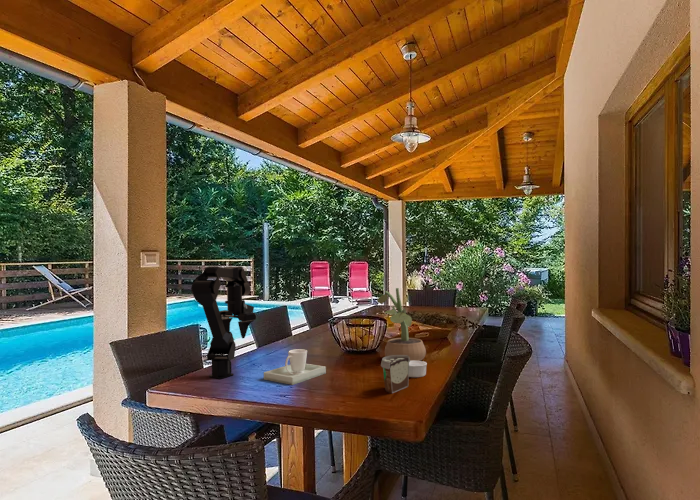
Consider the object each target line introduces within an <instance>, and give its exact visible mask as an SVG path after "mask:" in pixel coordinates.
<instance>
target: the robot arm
mask: <svg viewBox="0 0 700 500" xmlns="http://www.w3.org/2000/svg"><path fill="white" fill-rule="evenodd" d="M211 278H213V279H214V278H215V280H212V279H211ZM221 278H222V279H223V280H224V281H226V282H227V283H226V284H225V288H226V294H227V295H226V297H227V298H226V300H225V301H224V303H225V304H227V310H225V309H224V310H223V309H222V310H220V308H219V306H218V302H217V298H218V295H219V290H220V287H221V285H222V283H221V281H220V279H221ZM209 279H211V280H209ZM248 282H249V280H248V277H247V275H246V272H245V269H244V268H243V266H225V267H220V266H207V267H205V268H204V270H203V272H201V273H200V274H199V275H197V276H196V277H195V278H194V280H193V282H192V284H191V288H190V290H191V294H192V296H193V298H194V299H195V302H197V303H199V305H201V307H202V308H203V312H204V314H205V318H206V321H207V324H208V327H209V330H210V332H211V336H212V338H211V341H210V346H209V349H208V351H207V354H206V358H207V361H211V374H209V375H208V377H210V378H214V379H219V380H221V379H224V378H228V377H232V376H234V373H232V372H233V371H232V362H231V361H232V360H233V359H235V357H236V356H235V354H236V342H235V338H234V335H233V333H232V331H231V322H232V320H233V318H234V319H238V321H237V325H238V328H239V332H240V336H241V339H245V337H246V334H247V333H248V329H249V326H250V325H251V324H252V323H253V322H254V321H255V320H257V314H256V312H254V308H255V306H253V305H250V304H247V303H246V302H245V299H243V297H245V296H248V295H249V294H250V293H251V292H252V287H251V285H250V284H249V283H248Z"/></svg>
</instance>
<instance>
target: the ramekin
mask: <svg viewBox="0 0 700 500" xmlns="http://www.w3.org/2000/svg"><path fill="white" fill-rule="evenodd" d="M427 365H428V363H427V361H424V360H423V361H422V360H421V361H410V362H409V378H422V377H425V376H426V375H427Z"/></svg>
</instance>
